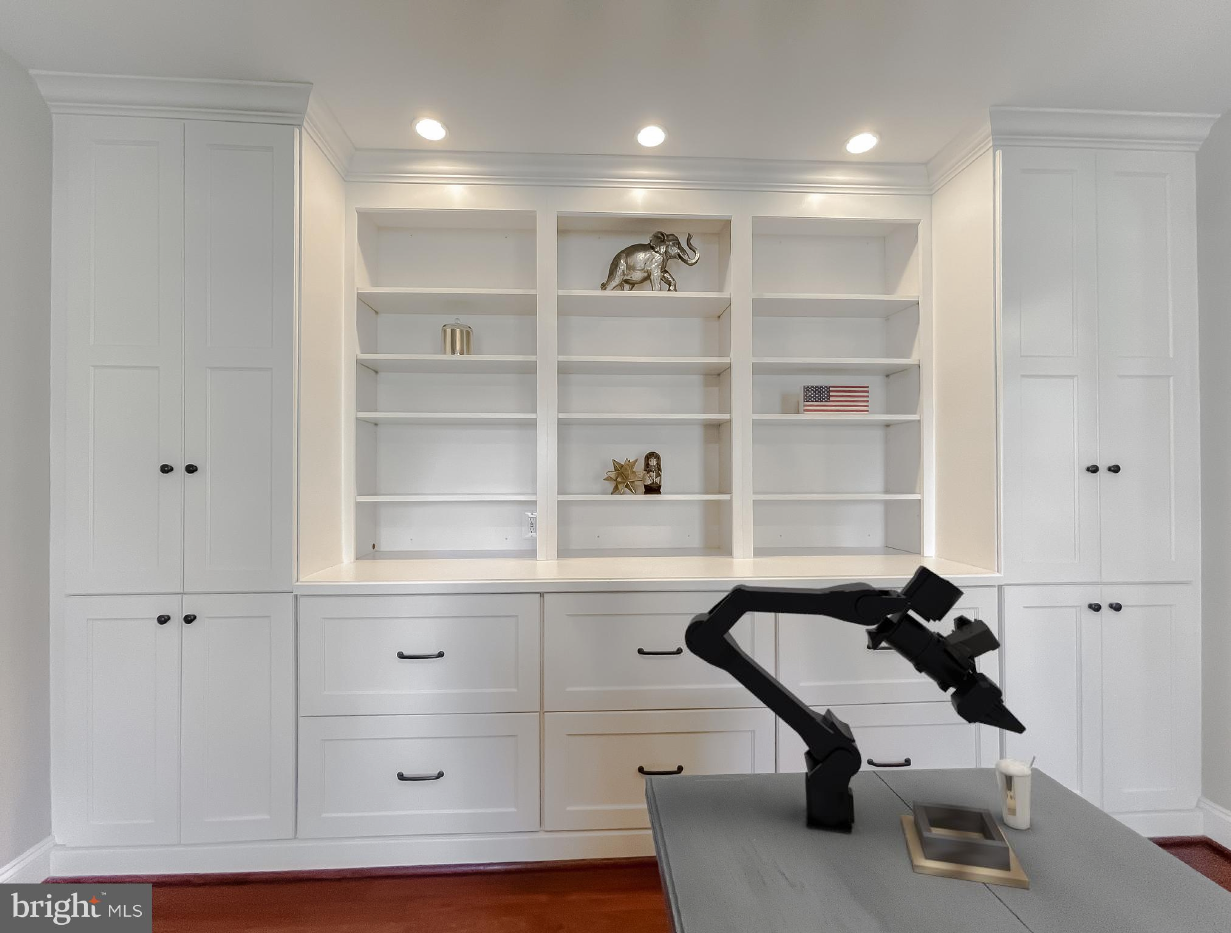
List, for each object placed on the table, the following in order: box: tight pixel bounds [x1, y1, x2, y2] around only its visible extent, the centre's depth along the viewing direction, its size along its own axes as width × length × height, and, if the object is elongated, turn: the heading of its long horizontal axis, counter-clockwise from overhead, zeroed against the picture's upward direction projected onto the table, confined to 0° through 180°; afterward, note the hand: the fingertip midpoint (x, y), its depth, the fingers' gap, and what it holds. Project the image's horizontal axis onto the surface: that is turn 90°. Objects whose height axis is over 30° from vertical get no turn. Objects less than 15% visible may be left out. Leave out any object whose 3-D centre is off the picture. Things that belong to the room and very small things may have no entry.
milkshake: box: [994, 755, 1036, 831], centre depth 90 cm, size 4×5×10 cm
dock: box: [900, 800, 1030, 890], centre depth 84 cm, size 13×13×4 cm
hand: (1012, 716), depth 88 cm, fingers open, 9 cm apart
